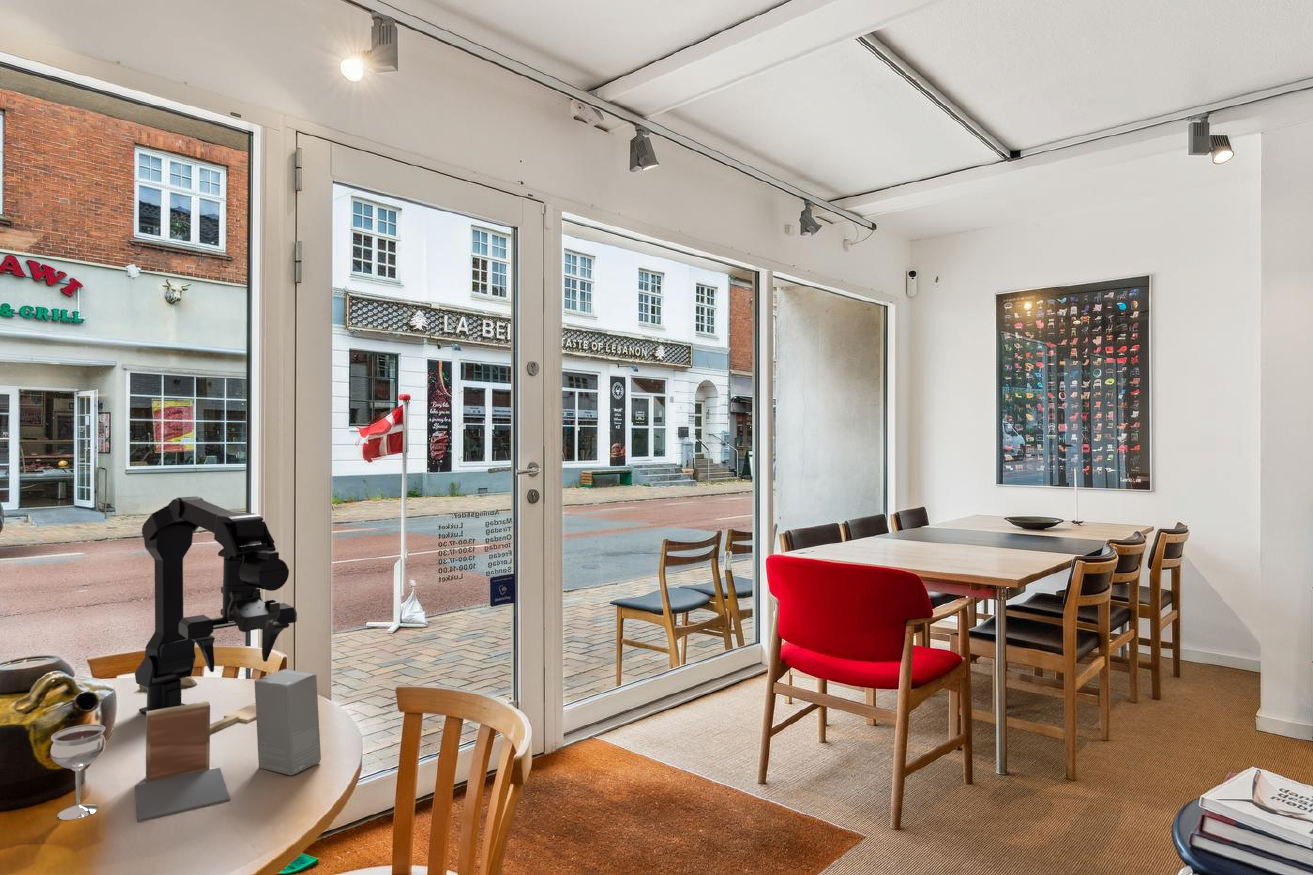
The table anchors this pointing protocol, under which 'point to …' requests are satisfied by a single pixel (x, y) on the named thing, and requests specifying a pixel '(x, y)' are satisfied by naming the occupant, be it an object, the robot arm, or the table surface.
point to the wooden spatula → (235, 718)
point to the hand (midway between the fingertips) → (238, 666)
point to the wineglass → (78, 759)
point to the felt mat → (180, 793)
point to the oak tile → (177, 741)
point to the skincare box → (287, 721)
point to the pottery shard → (184, 683)
